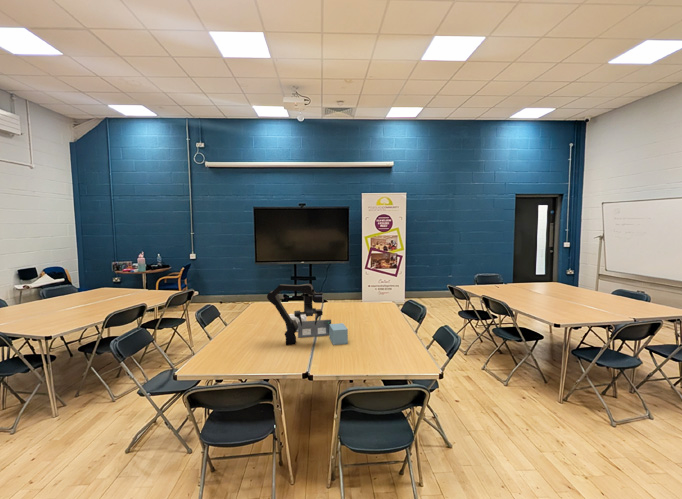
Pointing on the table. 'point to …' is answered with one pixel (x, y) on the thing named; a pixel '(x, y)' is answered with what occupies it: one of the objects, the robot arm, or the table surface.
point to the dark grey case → (313, 328)
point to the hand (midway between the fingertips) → (308, 325)
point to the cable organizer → (303, 318)
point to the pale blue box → (338, 334)
